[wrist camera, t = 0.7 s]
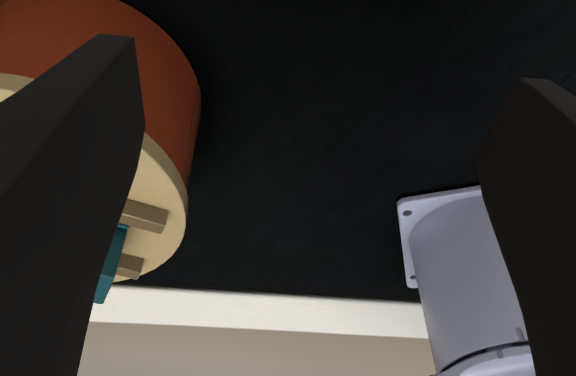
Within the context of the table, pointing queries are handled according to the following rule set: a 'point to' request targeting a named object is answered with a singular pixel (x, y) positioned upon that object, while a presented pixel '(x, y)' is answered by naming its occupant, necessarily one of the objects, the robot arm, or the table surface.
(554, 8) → the table surface
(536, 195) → the robot arm
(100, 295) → the slider
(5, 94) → the brown and beige cylinder
